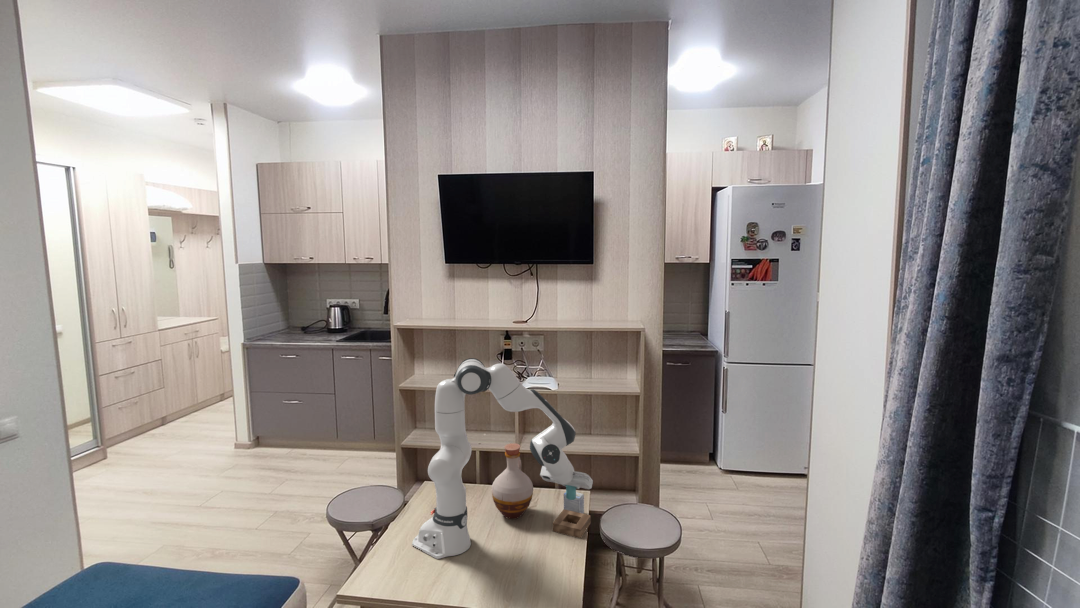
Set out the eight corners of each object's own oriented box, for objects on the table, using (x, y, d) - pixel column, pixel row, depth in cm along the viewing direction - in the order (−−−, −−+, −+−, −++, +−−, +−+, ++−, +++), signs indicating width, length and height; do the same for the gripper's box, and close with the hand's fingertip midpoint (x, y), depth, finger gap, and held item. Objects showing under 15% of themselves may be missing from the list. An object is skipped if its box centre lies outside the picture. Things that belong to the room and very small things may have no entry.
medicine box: (584, 513, 203) (584, 493, 202) (579, 517, 199) (579, 498, 199) (568, 508, 207) (568, 489, 207) (563, 512, 203) (563, 493, 203)
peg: (564, 498, 188) (564, 479, 188) (568, 494, 192) (568, 475, 192) (573, 500, 187) (573, 481, 186) (577, 496, 190) (577, 477, 190)
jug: (501, 499, 215) (501, 435, 213) (539, 505, 210) (539, 439, 208) (485, 521, 196) (484, 451, 194) (526, 528, 191) (526, 456, 189)
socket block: (552, 531, 189) (552, 522, 188) (563, 517, 200) (563, 509, 199) (580, 538, 184) (580, 529, 183) (590, 523, 195) (590, 515, 194)
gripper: (589, 468, 178) (597, 482, 187) (540, 459, 186) (550, 473, 196) (586, 484, 174) (594, 498, 184) (536, 474, 183) (546, 488, 192)
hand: (571, 485), depth 190 cm, fingers closed on peg, 4 cm apart
